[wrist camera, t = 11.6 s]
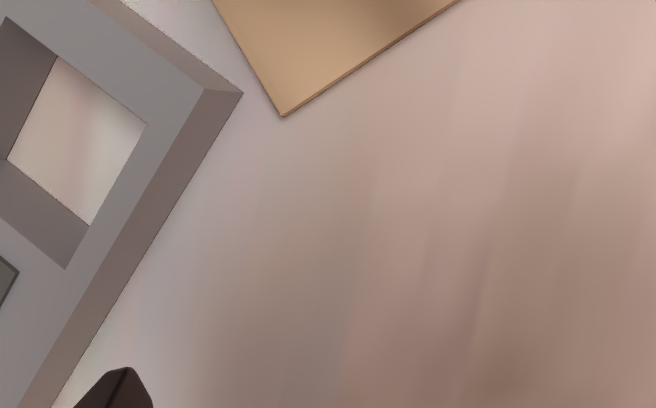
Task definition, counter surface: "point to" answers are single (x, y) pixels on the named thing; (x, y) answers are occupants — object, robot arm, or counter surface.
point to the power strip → (124, 197)
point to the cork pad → (318, 39)
